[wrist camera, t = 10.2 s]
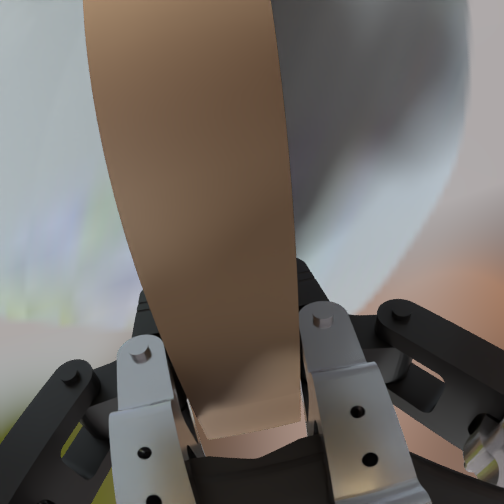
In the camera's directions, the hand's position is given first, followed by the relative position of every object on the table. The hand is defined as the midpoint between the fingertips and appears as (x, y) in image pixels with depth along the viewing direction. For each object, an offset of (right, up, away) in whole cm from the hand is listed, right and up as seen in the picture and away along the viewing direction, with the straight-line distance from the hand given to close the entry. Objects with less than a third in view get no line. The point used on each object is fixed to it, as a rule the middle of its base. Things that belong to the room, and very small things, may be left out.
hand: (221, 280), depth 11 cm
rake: (-1, +5, -2) cm, 6 cm away
